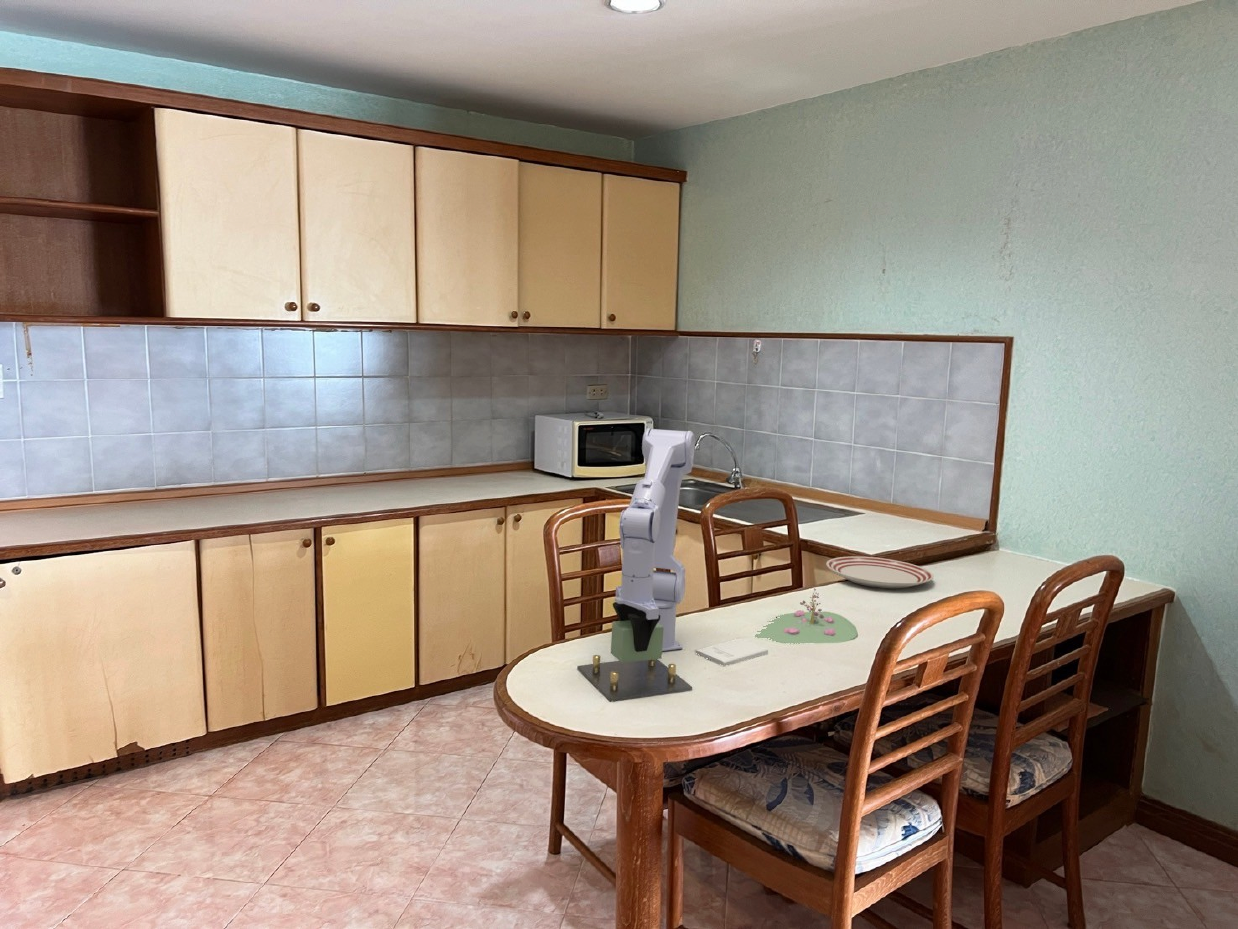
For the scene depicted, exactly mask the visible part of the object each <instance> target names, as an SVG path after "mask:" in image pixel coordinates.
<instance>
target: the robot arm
mask: <svg viewBox="0 0 1238 929" xmlns="http://www.w3.org/2000/svg"><path fill="white" fill-rule="evenodd" d="M641 445H642V446H641V450H642V452H641V453H642V455H643V458H644V461H645V464H646V467H645V468H646V469H645V474H644V478H642V479H639V480H638V482H636V485H635V488H634V490H633V494H632V496H631V500H630V502H629V505H628V507H627V508H626V509H623V510H622V511H621V513H620V517H619V526H618V530H619V531H618V532H619V537H620V538H619V539H620V549H622V558H621V559H622V561H621V563H622V564H621V583H620V585H621V586H619V585H618V586H615V598H614V601H615V602H613V603H612V607H613V609H614V611H615V615H616V616H617V619H618V621H628V620H630V622H631V625H632V629H633V637H634V647H635V651H636V652H641V651H647V648H648V645H649V642H650V638H651V635H652V633H653V630H654V628H655V626H656V625H657V623H659V624H660V625H662V626H663V627H664V628H663V643H662V652H667V651H674V650H681V649H683V646H682V645H681V643H678V642H677V641H676V640H675V639H676V637H675V636H676V623H677V622H676V620H677V619H676V618H677V604H678V605H679V604H681V603H682V602H683V600H684V598H685V597H684V596H685V593H686V592H685V591H686V568H685V566H684V564H683V563H682V562H681V561H680V560H679V559H678V558H677V557H676V556H674V552H675V541H676V533H677V531H676V530H677V522H678V514H679V505H680V503H679V502H680V492H681V485H682V482H683V478H684V476H686V475H688V474H690V473H692V469H693V467H694V459H695V448H696V438H695V433H693V431H692V430H688V431H687V430H686V431H685V430H674V429H673V430H669V429H659V428H658V429H655V428H650V427H649V428H647V429H646V430H645V431H644V432H643V435H642V443H641ZM654 569H661V570H654ZM664 570H669V571H664ZM670 570H671V571H670ZM672 571H673V572H672Z"/></svg>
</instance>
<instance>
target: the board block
mask: <svg viewBox="0 0 1238 929" xmlns="http://www.w3.org/2000/svg"><path fill="white" fill-rule="evenodd" d="M663 628H664V627H663V626H662V625H660V624H659V623H657V625H656V626H655V628H654V630H653V633H652V635H651V638H650V642H649V645H648V648H647V651H641V652H636V651H635V647H634V637H633V629H632V625H631V622H630V620H628V621H619V620H618V621H616V620H615V621H612V624H611V640H610V655H612V656H613V657H615V659H617V661H620V662H621V663H622V662H632V661H642V660H652V659H658V660H660V659H662V655H663V651H662V643H663Z"/></svg>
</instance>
